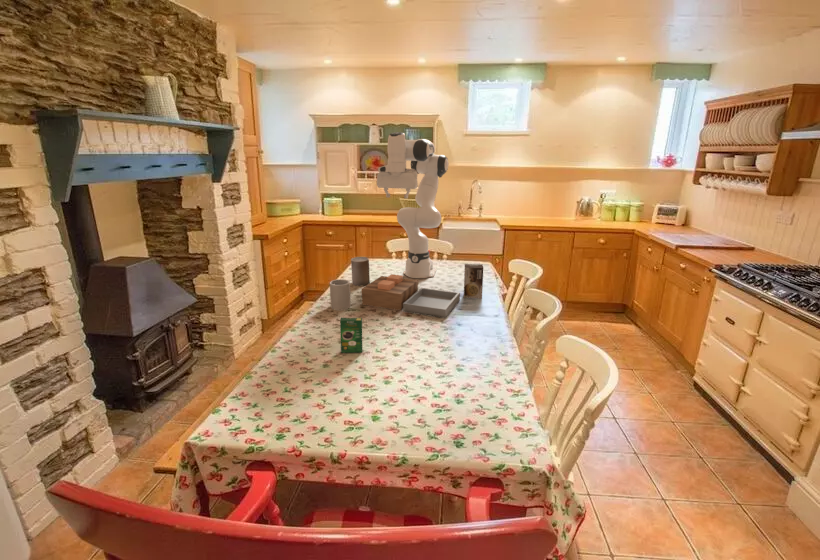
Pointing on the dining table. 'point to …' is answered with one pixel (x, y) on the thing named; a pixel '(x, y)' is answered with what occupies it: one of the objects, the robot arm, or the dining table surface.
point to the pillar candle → (360, 271)
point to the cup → (340, 294)
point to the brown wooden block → (389, 294)
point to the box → (431, 302)
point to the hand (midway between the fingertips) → (397, 197)
